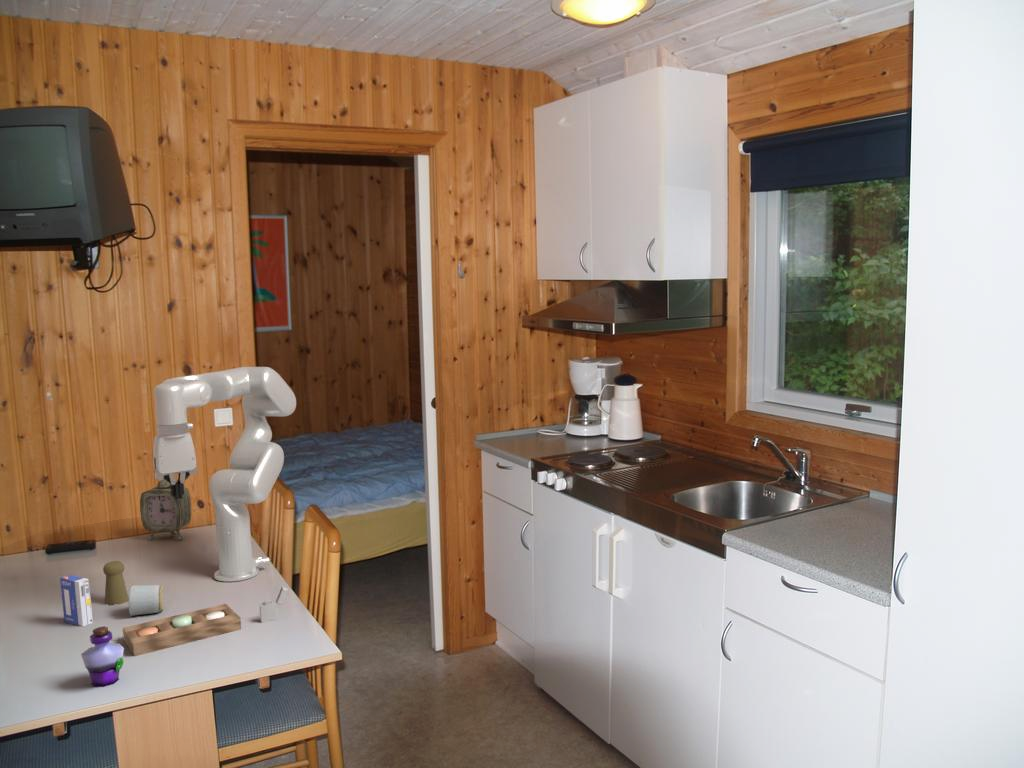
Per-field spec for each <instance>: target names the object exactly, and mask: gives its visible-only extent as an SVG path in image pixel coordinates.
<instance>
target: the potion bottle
mask: <svg viewBox="0 0 1024 768" xmlns="http://www.w3.org/2000/svg"><path fill="white" fill-rule="evenodd" d="M112 640H113V633H112V631H110V630H109V627H108V626H99V627H95V628H94V629H93V630H92V634H91V635H90V636H89V641H90V643H91V644H92V645H94V646H92V647H89V648H87V649H86V650H84V651H83V652H82V653H81V654H80V655H81V659H82V662H83V665H84V667H85V668H86V670H87V672H88V675H89V676H90V677H89V678H90V679H91V686H92V687H93V688H105V687H109V686H110V685H114V684H115V683H117V682H118V681H119V680H120V678H119V677H120V670H121V669H122V667H123V666H124V658H123V657H124V650H125V648H124V646H122V645H121V643H110V641H112Z"/></svg>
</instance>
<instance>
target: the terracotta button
mask: <svg viewBox="0 0 1024 768" xmlns="http://www.w3.org/2000/svg"><path fill="white" fill-rule="evenodd" d="M153 633H158V629H157V628H155V627H148V628H144V629H141V630H139V631H138V637H141V636H145V635H149V634H153Z"/></svg>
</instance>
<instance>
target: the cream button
mask: <svg viewBox="0 0 1024 768" xmlns="http://www.w3.org/2000/svg"><path fill="white" fill-rule="evenodd" d="M220 617H224V612H220V611H218V612H211V613H209V614H207V615H206V619H207V620H211V619H215V618H220Z"/></svg>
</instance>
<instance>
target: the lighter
mask: <svg viewBox="0 0 1024 768" xmlns="http://www.w3.org/2000/svg"><path fill="white" fill-rule="evenodd" d="M287 594H288V587H285V586H281V588H280V590H279V593H278V595H277V597H276V600H275V601H273V600H272V599H271V598H270V599H264V600H263V601H262V603H260V604H259V607H258V608H259V618H260V623H261V624H263V623H268V622H275V621H278V620H279V618H278V616H279V615H278V614H279V613H278V605H283V603H284V600H285V598H286V596H287Z"/></svg>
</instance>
